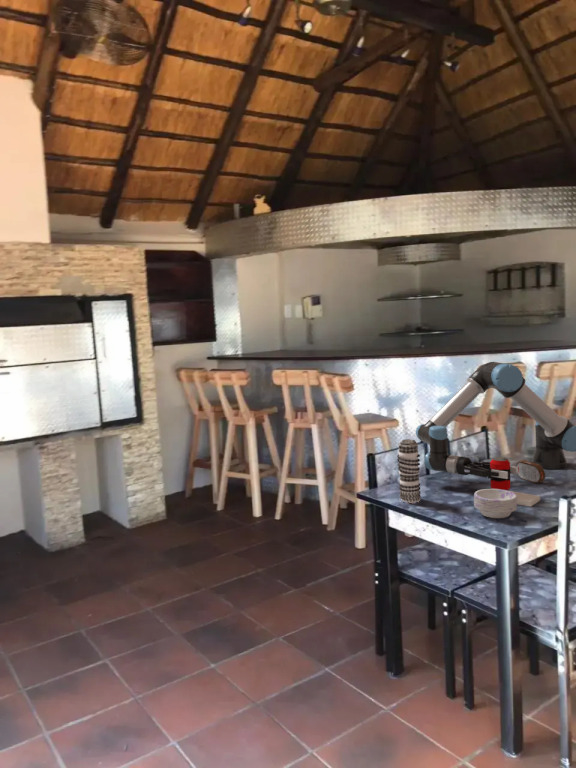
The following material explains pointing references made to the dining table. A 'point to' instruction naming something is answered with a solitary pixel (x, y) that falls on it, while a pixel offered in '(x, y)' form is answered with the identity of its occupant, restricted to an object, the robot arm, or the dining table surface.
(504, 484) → the soda can
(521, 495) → the block
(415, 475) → the decorative candle
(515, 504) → the paper bowls
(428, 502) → the dining table surface
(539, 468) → the tin
